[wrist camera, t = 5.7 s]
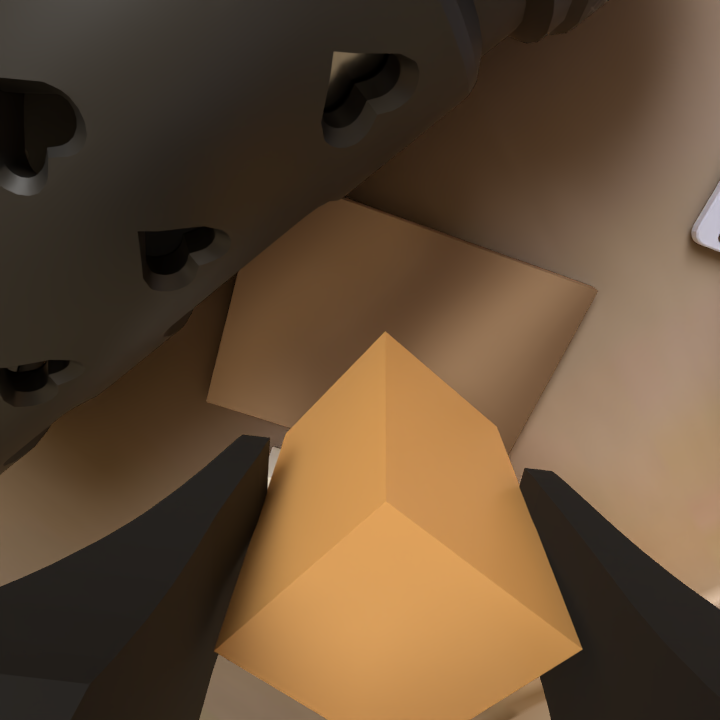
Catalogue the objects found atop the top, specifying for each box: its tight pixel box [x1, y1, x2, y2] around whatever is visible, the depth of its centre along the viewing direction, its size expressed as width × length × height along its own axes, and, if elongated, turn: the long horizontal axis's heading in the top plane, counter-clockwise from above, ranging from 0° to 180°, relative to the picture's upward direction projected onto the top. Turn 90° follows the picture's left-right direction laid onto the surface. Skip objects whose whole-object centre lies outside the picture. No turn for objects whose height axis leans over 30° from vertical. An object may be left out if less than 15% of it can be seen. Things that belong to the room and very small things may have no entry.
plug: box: [214, 331, 583, 720], centre depth 11 cm, size 4×4×6 cm
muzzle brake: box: [0, 0, 609, 474], centre depth 12 cm, size 10×28×10 cm
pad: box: [206, 197, 598, 454], centre depth 19 cm, size 12×9×1 cm
